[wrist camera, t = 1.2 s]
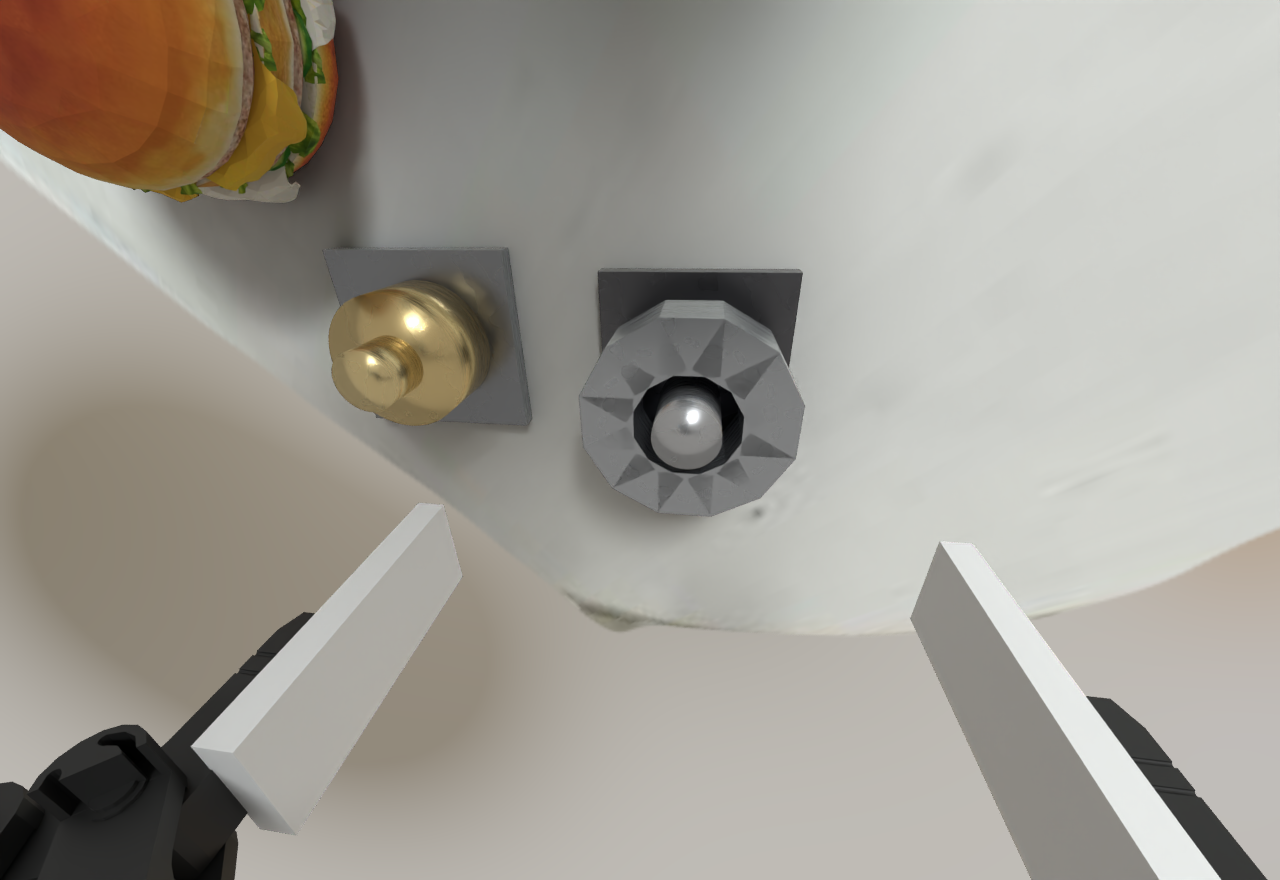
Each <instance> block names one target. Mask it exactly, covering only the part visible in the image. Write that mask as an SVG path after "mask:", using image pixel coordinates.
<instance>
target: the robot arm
mask: <svg viewBox="0 0 1280 880" xmlns="http://www.w3.org/2000/svg"><path fill="white" fill-rule="evenodd" d="M462 577H463V576H462V572H461V568H460V564H459V561H458V557H457V553H456V549H455V545H454V542H453V538H452V534H451V530H450V527H449V523H448V519H447V515H446V511H445V507H444V505H441V504H428V503H418V504H417V505H416V506H415V507H414V508H413V509H412V510H411V512H410V513H409V514H408V515H407V516H406V517H405V518H404V519H403V520H402V521H401V522H400V523H399V524H398V525H397V527H396V528H395V529H394V530H393V531H392V532H391V533H390V534H389V535H388V536H387V537H386V538H385V539H384V540H383V541H382V543H381V544H380V545H379V546H378V547H377V548H376V549H375V550H374V551H373V552H372V553H371V554H370V555H369V556H368V557H367V559H366V560H365V561H364V562H363V563H362V564H361V565H360V566H359V567H358V568H357V569H356V570H355V572H353V573H352V575H351V576H350V577H349V578H348V579H347V580H346V581H345V582H344V583H343V584H342V585H341V586H340V587H339V588H338V590H337V591H336V592H335V593H334V594H333V595H332V596H331V597H330V598H329V599H328V600H327V601H326V602H325V604H323V606H322V607H321V608H320V609H319V610H318V611H317V612H316V613H306V612H303V613H302V614H301V615H299V616H298V617H296V618H295V619H293V620H292V621H290V622H289V623H287V624H286V625H284V626H283V627H281V628H280V629H278V630H277V631H276V632H275V633H274V634H273V635H272V636H271V637H270V638H269V639H268V640H267V641H266V642H265V643H264V644H263V645H262V646H261V647H260V648H259V650H257V654H256V655H255V656H254V655H252V656H251V657H250V659H249V660H248V661H247V662H246V663H245V664H244V665H243V666H242V667H241V668H240V670H239V672H238V673H237V674H236V673H235V674H234V675H233V676H232V677H231V678H230V679H229V680H228V681H227V682H226V683H225V684H224V685H223V686H222V687H221V688H220V689H219V690H218V691H217V692H216V693H215V694H214V695H213V696H212V697H211V698H210V699H209V700H208V701H207V702H206V703H205V704H204V705H203V706H202V707H201V708H200V709H199V710H198V711H197V712H196V713H195V714H194V715H193V716H192V717H191V718H190V719H189V721H188V722H187V723H185V724H184V726H183V727H182V728H181V729H180V730H179V731H178V732H177V733H176V734H175V735H174V736H173V737H172V738H171V739H170V740H169V741H168V742H167V743H165V744H164V745H163V746H162V747H160V746H159V745H158V744H157V743H156V742H155V741H154V739H153V738H152V737H151V736H150V735H149V734H148V733H147V732H146V731H145V730H144V729H143V728H141V727H140V726H138V725H120V726H117V727H114V728H110V729H107V730H103V731H102V732H99V733H97V734H95V735H93V736H92V737H89V738H88V739H85V740H83V741H81V742H80V743H78V744H77V745H75V746H74V747H72V748H71V749H70V750H68V751H67V752H65V753H64V754H63V755H61V756H60V757H58V758H57V759H56V760H55V761H54V762H53V763H52V764H51V765H50V766H49V767H48V768H47V769H46V770H44V771H43V772H42V773H41V774H40V775H39V776H38V778H37V779H36V781H35V782H34V784H33V785H32V787H31V788H30V790H29V791H28V790H27V789H25V788H24V787H23V786H21V785H18V784H16V783H14V782H7V783H0V880H234V878H235V869H236V859H237V850H238V839H237V832H236V831H235V829H236V828H237V826H238V825H239V824H240V822H241V821H242V820H243V818H244V817H245V816H246V814H248V815H249V816H250V818H251V819H252V820H253V821H254V822H255V823H256V825H257V826H258V827H259V828H260V829H263V830H269V831H274V832H280V833H286V834H291V835H297V834H298V832H299V831H300V829H301V828H302V826H303V824H304V823H305V821H306V820H307V818H308V817H309V815H310V813H311V812H312V810H313V809H314V807H315V805H316V804H317V802H318V801H319V799H320V798H321V796H322V795H323V793H324V792H325V790H326V789H327V787H328V785H329V784H330V782H331V781H332V779H333V778H334V776H335V774H336V773H337V771H338V770H339V768H340V767H341V765H342V764H343V762H344V761H345V759H346V757H347V756H348V754H349V753H350V751H351V750H352V748H353V746H354V745H355V743H356V742H357V740H358V739H359V737H360V735H361V734H362V733H363V731H364V729H365V728H366V726H367V725H368V723H369V721H370V720H371V718H372V717H373V715H374V714H375V712H376V711H377V709H378V708H379V706H380V704H381V703H382V701H383V700H384V698H385V697H386V695H387V694H388V692H389V690H390V689H391V687H392V686H393V684H394V683H395V681H396V680H397V678H398V676H399V675H400V673H401V672H402V670H403V669H404V667H405V666H406V664H407V662H408V661H409V659H410V658H411V656H412V655H413V653H414V652H415V650H416V649H417V647H418V645H419V644H420V642H421V641H422V639H423V638H424V636H425V635H426V633H427V631H428V630H429V628H430V627H431V625H432V624H433V622H434V621H435V619H436V617H437V616H438V614H439V613H440V611H441V610H442V608H443V607H444V605H445V603H446V602H447V600H448V599H449V597H450V596H451V594H452V593H453V591H454V589H455V588H456V586H457V585H458V583H459V582H460V580H461V579H462ZM910 619H911V621H912V623H913V625H914V628H915V630H916V632H917V634H918V636H919V638H920V640H921V643H922V645H923V647H924V649H925V651H926V653H927V656H928V657H929V660H930V662H931V664H932V666H933V668H934V670H935V673H936V675H937V677H938V679H939V681H940V683H941V686H942V688H943V690H944V692H945V694H946V697H947V699H948V701H949V703H950V705H951V707H952V709H953V712H954V714H955V716H956V718H957V720H958V722H959V725H960V727H961V728H962V731H963V733H964V735H965V737H966V740H967V742H968V744H969V746H970V748H971V750H972V752H973V755H974V757H975V759H976V761H977V763H978V766H979V767H980V770H981V772H982V774H983V776H984V778H985V781H986V783H987V785H988V787H989V789H990V791H991V794H992V796H993V798H994V800H995V802H996V804H997V806H998V809H999V811H1000V813H1001V815H1002V817H1003V819H1004V822H1005V824H1006V826H1007V828H1008V830H1009V832H1010V835H1011V836H1012V839H1013V841H1014V843H1015V845H1016V847H1017V850H1018V852H1019V854H1020V856H1021V858H1022V860H1023V862H1024V865H1025V867H1026V869H1027V871H1028V873H1029V876H1030V878H1031V880H1267V879H1266V878H1265V876H1264V875H1263V874H1262V873H1261V871H1260V870H1259V869H1258V868H1257V866H1256V865H1255V864H1254V863H1253V861H1252V860H1251V859H1250V858H1249V856H1248V855H1247V854H1246V853H1245V852H1244V851H1243V849H1242V848H1241V847H1240V845H1239V844H1238V843H1237V842H1236V840H1235V839H1234V838H1233V837H1232V835H1231V834H1230V833H1229V832H1228V830H1227V829H1226V828H1225V827H1224V825H1223V824H1222V823H1221V822H1220V820H1219V819H1218V818H1217V817H1216V815H1215V814H1214V813H1213V812H1212V810H1211V809H1210V808H1209V807H1208V806H1207V804H1206V803H1205V802H1204V801H1203V799H1202V798H1200V797H1197V796H1196V794H1195V789H1194V788H1193V787H1192V786H1191V785H1190V783H1189V782H1188V781H1187V780H1186V778H1185V777H1184V776H1183V774H1182V773H1181V772H1180V771H1179V770H1178V768H1174V767H1173V766H1172V761H1171V760H1170V758H1169V757H1168V756H1167V755H1166V753H1165V752H1164V751H1163V750H1162V748H1161V747H1160V746H1159V745H1158V743H1157V742H1156V741H1155V740H1154V738H1153V737H1152V736H1151V735H1150V734H1149V732H1148V731H1147V730H1146V729H1145V728H1144V727H1143V726H1142V725H1141V724H1140V723H1138V722H1137V721H1136V720H1135V719H1134V718H1132V717H1131V716H1130V715H1129V714H1128V713H1126V712H1125V711H1124V710H1123V709H1122V708H1120V707H1119V706H1118V705H1117V704H1116V703H1115V702H1113V701H1112V700H1111V699H1107V698H1097V697H1089V696H1085V695H1084V693H1083V692H1082V691H1081V689H1080V688H1079V687H1078V685H1077V684H1076V683H1075V681H1074V680H1073V679H1072V677H1071V676H1070V674H1069V673H1068V672H1067V670H1066V669H1065V668H1064V666H1063V665H1062V664H1061V662H1060V661H1059V659H1058V658H1057V657H1056V655H1055V654H1054V653H1053V651H1052V650H1051V649H1050V647H1049V646H1048V645H1047V643H1046V642H1045V640H1044V639H1043V638H1042V636H1041V635H1040V634H1039V632H1038V631H1037V630H1036V628H1035V627H1034V626H1033V624H1032V623H1031V622H1030V620H1029V619H1028V617H1027V616H1026V615H1025V613H1024V612H1023V611H1022V609H1021V608H1020V607H1019V605H1018V604H1017V603H1016V601H1015V600H1014V599H1013V597H1012V596H1011V594H1010V593H1009V592H1008V590H1007V589H1006V588H1005V586H1004V585H1003V584H1002V582H1001V581H1000V580H999V578H998V577H997V575H996V574H995V573H994V571H993V570H992V569H991V567H990V566H989V565H988V563H987V562H986V561H985V559H984V558H983V557H982V555H981V554H980V552H979V551H978V550H977V548H976V547H975V546H974V544H971V543H957V542H944V541H940V542H939V544H938V547H937V549H936V552H935V555H934V557H933V560H932V563H931V565H930V568H929V571H928V573H927V576H926V579H925V581H924V584H923V587H922V589H921V592H920V594H919V597H918V600H917V602H916V605H915V608H914V610H913V613H912V616H911V618H910Z"/></svg>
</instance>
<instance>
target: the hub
mask: <svg viewBox="0 0 1280 880" xmlns="http://www.w3.org/2000/svg"><path fill="white" fill-rule="evenodd" d="M322 251H323V254H324V257H325V260H326V263H327V266H328V269H329V272H330V275H331V278H332V282H333V285H334V288H335V291H336V294H337V297H338V300H339V303H340V306H341V307H340V308H339V309H338V310H337V312H336V313H335V315H334V317H333V319H332V321H331V325H330V329H329V349H330V355H331V358H332V362H333V365H332V378H333V381H334V384H335V386H336V388H337V390H338V391H339V393H340V394H341V395H342V396H343V397H344V398H345V399H346V400H347V401H348V402H349V403H350V404H352V405H353V406H355V407H357V408H359V409H361V410H364V411H368V412H374V413H375V415H376V418H385V419H387V420H390V421H393V422H395V423H399V424H404V425H411V426H420V425H427V424H431V423H434V422H436V421H448V422H468V423H488V424H508V425H527V424H528V423H529V422H530V420H531V419H532V414H531V407H530V400H529V393H528V386H527V379H526V372H525V365H524V358H523V351H522V344H521V337H520V330H519V323H518V315H517V308H516V301H515V294H514V287H513V280H512V273H511V266H510V259H509V252H508V248H332V249H326V250H322Z"/></svg>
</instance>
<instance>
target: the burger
mask: <svg viewBox="0 0 1280 880" xmlns="http://www.w3.org/2000/svg"><path fill="white" fill-rule="evenodd" d="M335 24H336V18H335V13H334V7H333V2H332V0H0V129H2V130H3V131H5V132H6V133H7V134H9V135H10V136H11V137H13V138H14V139H16V140H17V141H18V142H20V143H22V144H24V145H25V146H27V147H29V148H31V149H32V150H34V151H36V152H38V153H39V154H41V155H43V156H45V157H47V158H49V159H51V160H53V161H55V162H57V163H59V164H61V165H63V166H65V167H67V168H69V169H71V170H73V171H75V172H77V173H80V174H82V175H85V176H88V177H91V178H94V179H97V180H101V181H104V182H108V183H112V184H116V185H120V186H124V187H128V188H132V189H133V190H135V189H141V190H142V191H144V192H145V193H146V192H149V191H153V192H157V193H161V194H164V195H166V196H168V197H170V198H172V199H175V200H177V201H179V202H185V201H188V200H191V199H193V198H196V197H197V196H199V194H204V195H207V196H210V197H213V198H218V199H224V200H253V201H260V202H271V203H286V202H290V201H293V200H294V199H296V198H297V195H298V191H299V188H300V187H301V185H300V184H299V183H297V182H295V183H293V184H290V183H289V182H288V178H289V177H290V176H293V173H294V172H295V171H297V170H298V169H299V168H301V167H302V166H304V165H305V164H307V163H308V162H309V160H310V159H311V158H312V157H313V155H314V154H315V153H316V151H317V150H318V149H319V148H320V146H321V144H322V142H323V140H324V138H325V136H326V134H327V132H328V129H329V127H330V125H331V123H332V121H333V114H334V107H335V100H336V93H337V86H338V71H337V64H336V56H335V48H334V41H333V37H334V31H335Z"/></svg>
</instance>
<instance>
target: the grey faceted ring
mask: <svg viewBox="0 0 1280 880" xmlns="http://www.w3.org/2000/svg"><path fill="white" fill-rule="evenodd" d="M672 376H695V377H706V378H708V379H710V380H711V381H713V382H715V383H716V384H718V385H720V386H721V387H723V388H725V389H726V390H728V391H730V392H731V393H732V395H733V397H734V399H735V400H736V402H737V404H738V406H739V408H738V413H737V414H736V416H735V417H734V418H733V419H732V421H731V422H730V423H729V425H728V426H727V427H726V429H725V430H724V431H723V432H722V446H721V449H720V451H719V453H718V454H717V456H716V457H715V458H714V459H713V460H712V461H711V462H710V463H708V464H707V465H705V466H702V467H700V468H696V469H679V468H675V467H673V466H670V465H668V464H667V463H665V462H664V461H662V460H661V459H660V458H659V457H658V456H657V454H656V453H655V451H654V449H653V446H652V443H651V432H652V428H653V423H652V422H651V420H650V419H649V417H648V415H647V414H646V412H645V411H644V409H643V395H644V394H645V392H646V391H647V389H649V388H651V387H653V386H655V385H657V384H658V383H660V382H662V381H664V380H666V379H668V378H670V377H672ZM579 404H580V416H581V427H582V439H583V448H584V449H585V450H586V452H587V453H588V455H589V456H590V457H591V459H592V460H593V462H594V463H595V465H596V466H597V467H598V469H599V470H600V472H601V473H602V474H603V476H604V477H605V479H606V480H607V481H608V483H609V484H610V486H611V487H612V488H613V489H615V490H616V491H618V492H620V493H622V494H624V495H626V496H628V497H629V498H631V499H633V500H635V501H637V502H639V503H641V504H643V505H644V506H646V507H648V508H650V509H652V510H654V511H656V512H657V513H668V514H682V515H696V516H713V515H716V514H719V513H722V512H724V511H727V510H730V509H732V508H735V507H738V506H740V505H743V504H746V503H749V502H751V501H754V500H757V499H759V498H761V497H762V496H763V495H764V494H765V492H766V491H767V490H768V489H769V488H770V487H771V486H772V485H773V484H774V482H775V481H776V480H777V479H778V478H779V477H780V476H781V475H782V474H783V472H784V471H785V470H786V469H787V468H788V467H789V466H790V465H791V464H792V463H793V461H794V460H795V459H796V455H797V449H798V443H799V437H800V431H801V426H802V420H803V414H804V408H805V405H804V402H803V400H802V397H801V395H800V393H799V390H798V388H797V385H796V383H795V381H794V378H793V376H792V374H791V372H790V370H789V368H788V365H787V363H786V361H785V359H784V357H783V355H782V353H781V351H780V348H779V346H778V344H777V342H776V340H775V338H774V336H773V333H772V331H771V330H770V329H768V328H766V327H765V326H763V325H762V324H760V323H758V322H757V321H755V320H754V319H752V318H750V317H749V316H747V315H745V314H744V313H742V312H741V311H739V310H737V309H736V308H734V307H733V306H731V305H729V304H728V303H726V302H725V301H705V300H665V301H663V302H661V303H660V304H658V305H656V306H654V307H653V308H651V309H649V310H647V311H646V312H644V313H642V314H640V315H639V316H637V317H635V318H633V319H632V320H630V321H628V322H626V323H625V324H623V325H621V326H619V327H618V329H617V330H616V332H615V333H614V335H613V336H612V338H611V339H610V341H609V342H608V344H607V345H606V347H605V349H604V351H603V352H602V354H601V356H600V358H599V360H598V362H597V364H596V365H595V367H594V369H593V371H592V373H591V375H590V377H589V378H588V380H587V382H586V384H585V386H584V388H583V390H582V391H581V393H580V395H579Z"/></svg>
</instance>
